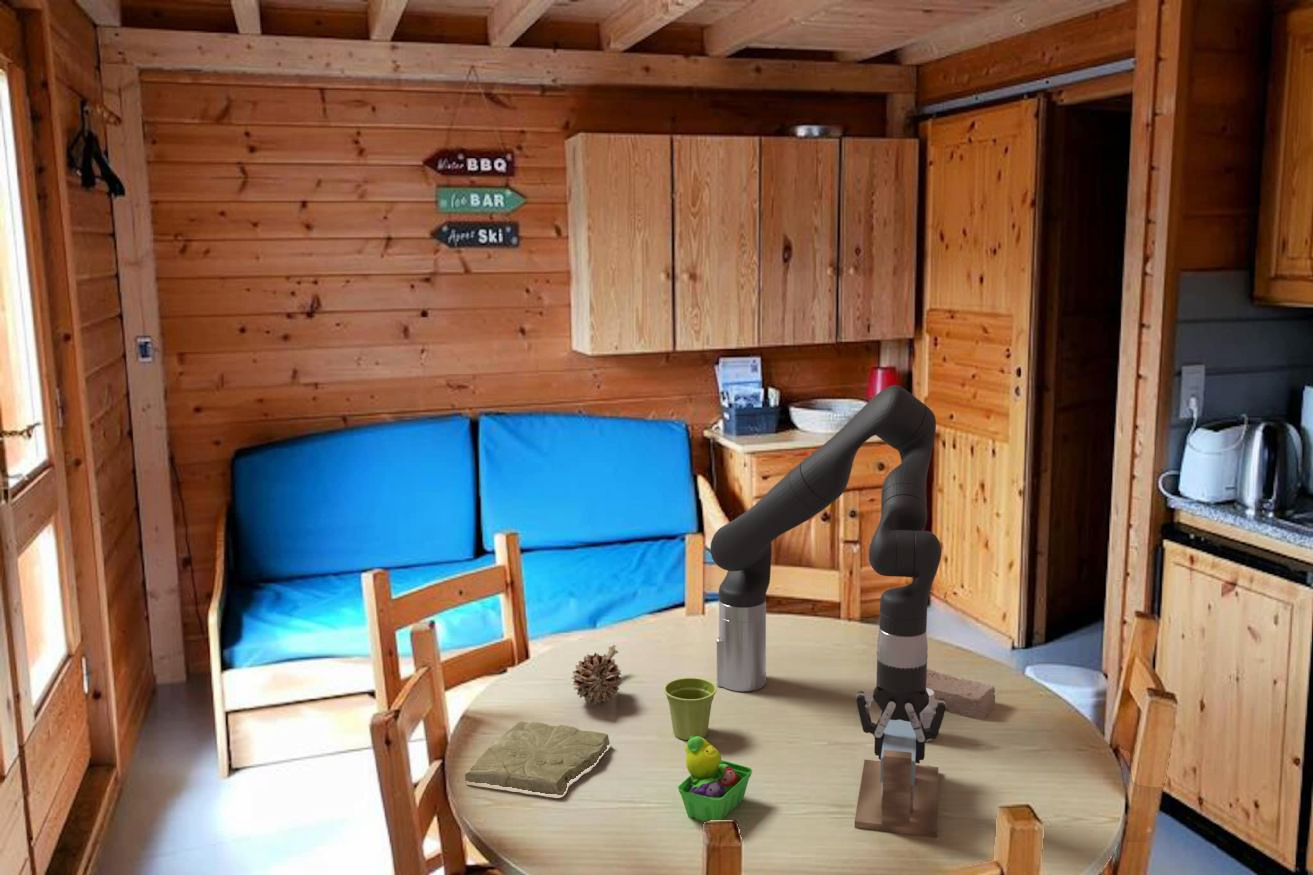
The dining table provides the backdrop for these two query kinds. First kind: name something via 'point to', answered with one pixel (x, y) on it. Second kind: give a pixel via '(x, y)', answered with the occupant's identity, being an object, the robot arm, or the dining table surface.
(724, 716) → the dining table surface
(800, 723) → the dining table surface
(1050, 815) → the dining table surface
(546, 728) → the decorative tile
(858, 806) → the peg stand
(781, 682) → the dining table surface
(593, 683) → the pine cone
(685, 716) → the plant pot
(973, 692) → the brick
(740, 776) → the fruit basket
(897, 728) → the block
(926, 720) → the pill bottle
